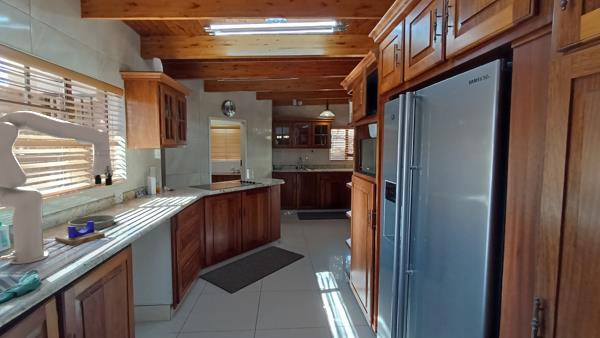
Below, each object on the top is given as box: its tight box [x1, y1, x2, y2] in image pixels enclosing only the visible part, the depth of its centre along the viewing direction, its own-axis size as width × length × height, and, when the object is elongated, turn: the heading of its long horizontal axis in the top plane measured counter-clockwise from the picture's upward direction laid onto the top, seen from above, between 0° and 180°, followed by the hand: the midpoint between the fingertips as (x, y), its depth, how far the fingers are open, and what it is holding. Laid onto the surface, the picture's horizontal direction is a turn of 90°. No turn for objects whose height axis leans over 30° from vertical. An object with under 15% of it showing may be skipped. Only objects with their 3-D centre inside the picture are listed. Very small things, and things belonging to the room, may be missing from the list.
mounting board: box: [54, 230, 106, 246], centre depth 161 cm, size 16×16×2 cm
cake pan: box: [67, 214, 117, 231], centre depth 187 cm, size 25×25×4 cm
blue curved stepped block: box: [67, 221, 96, 238], centre depth 161 cm, size 12×4×6 cm, turn 165°
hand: (103, 184), depth 165 cm, fingers open, 9 cm apart
